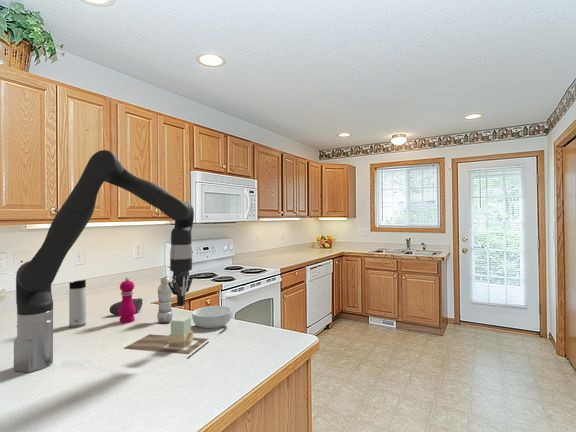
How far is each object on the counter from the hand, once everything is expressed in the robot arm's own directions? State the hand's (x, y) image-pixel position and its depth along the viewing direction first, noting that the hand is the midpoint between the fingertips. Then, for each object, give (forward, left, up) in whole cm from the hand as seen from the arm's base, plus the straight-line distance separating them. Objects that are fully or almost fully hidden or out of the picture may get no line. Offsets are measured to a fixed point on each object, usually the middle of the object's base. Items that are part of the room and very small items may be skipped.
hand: (180, 305), depth 122 cm
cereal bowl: (+26, 0, -16) cm, 30 cm away
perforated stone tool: (+37, +51, -16) cm, 65 cm away
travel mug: (+16, +59, -16) cm, 63 cm away
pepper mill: (+26, +42, -16) cm, 52 cm away
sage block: (0, 0, -10) cm, 10 cm away
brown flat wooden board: (0, +6, -15) cm, 16 cm away
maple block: (0, 0, -14) cm, 14 cm away
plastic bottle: (+28, +24, -16) cm, 40 cm away
